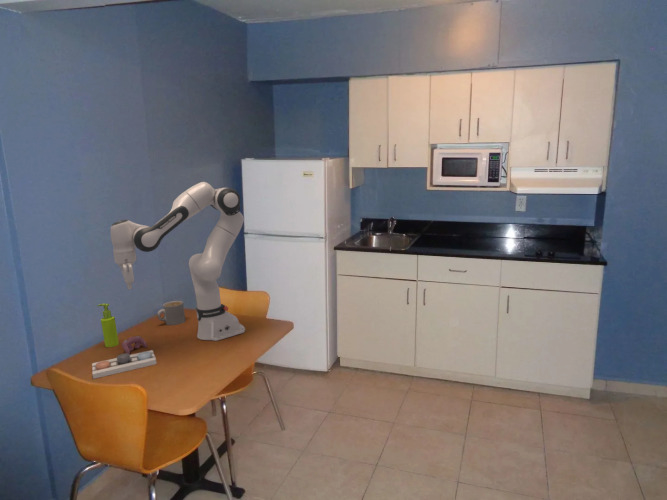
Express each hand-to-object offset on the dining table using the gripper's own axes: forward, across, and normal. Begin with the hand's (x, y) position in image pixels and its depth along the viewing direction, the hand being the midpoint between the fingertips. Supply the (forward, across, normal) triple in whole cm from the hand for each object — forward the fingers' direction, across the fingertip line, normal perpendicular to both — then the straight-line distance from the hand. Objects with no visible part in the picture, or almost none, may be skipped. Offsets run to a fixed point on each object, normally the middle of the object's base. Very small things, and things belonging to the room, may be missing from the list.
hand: (129, 288), depth 212 cm
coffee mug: (+29, +31, -19) cm, 47 cm away
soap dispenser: (+29, +16, +11) cm, 35 cm away
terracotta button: (+29, -14, +15) cm, 35 cm away
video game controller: (+29, +3, +2) cm, 30 cm away
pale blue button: (+29, -14, -1) cm, 32 cm away
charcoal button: (+28, -14, +7) cm, 32 cm away
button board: (+29, -14, +7) cm, 33 cm away
